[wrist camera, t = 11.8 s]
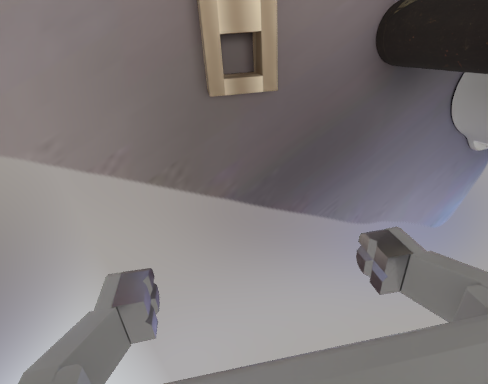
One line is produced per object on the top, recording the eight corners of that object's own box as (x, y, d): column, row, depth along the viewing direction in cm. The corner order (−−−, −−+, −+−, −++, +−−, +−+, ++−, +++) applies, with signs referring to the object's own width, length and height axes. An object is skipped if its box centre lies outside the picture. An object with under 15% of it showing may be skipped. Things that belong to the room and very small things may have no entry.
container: (446, 30, 39) (655, 21, 22) (393, 82, 41) (545, 112, 24) (417, -26, 35) (641, -91, 18) (361, 34, 37) (512, 28, 20)
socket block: (263, -73, 31) (276, -92, 26) (267, 84, 38) (277, 90, 34) (188, -71, 30) (189, -91, 25) (207, 90, 37) (210, 96, 33)
